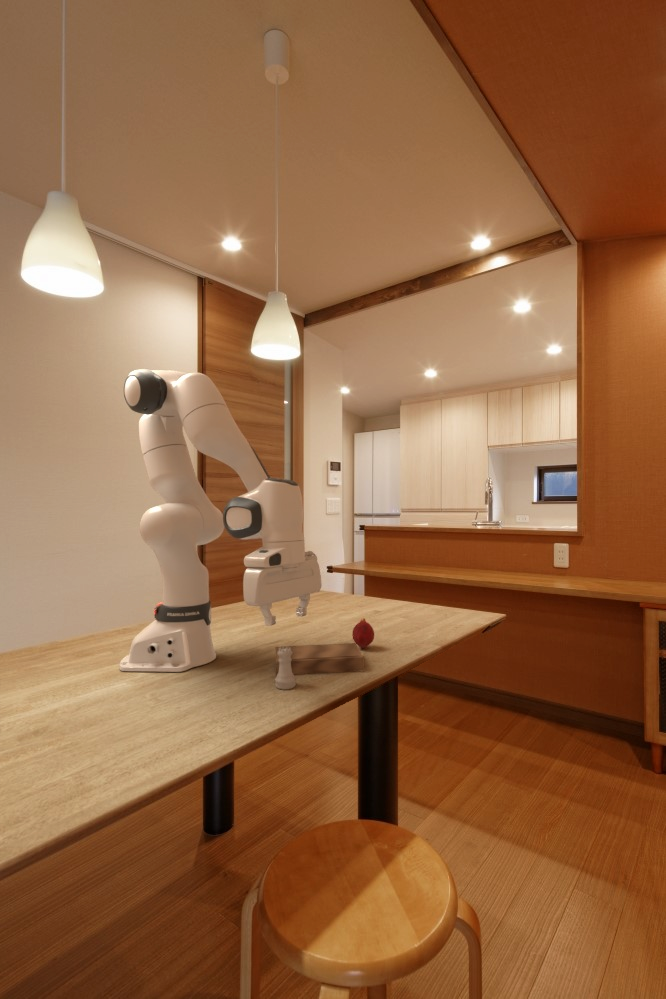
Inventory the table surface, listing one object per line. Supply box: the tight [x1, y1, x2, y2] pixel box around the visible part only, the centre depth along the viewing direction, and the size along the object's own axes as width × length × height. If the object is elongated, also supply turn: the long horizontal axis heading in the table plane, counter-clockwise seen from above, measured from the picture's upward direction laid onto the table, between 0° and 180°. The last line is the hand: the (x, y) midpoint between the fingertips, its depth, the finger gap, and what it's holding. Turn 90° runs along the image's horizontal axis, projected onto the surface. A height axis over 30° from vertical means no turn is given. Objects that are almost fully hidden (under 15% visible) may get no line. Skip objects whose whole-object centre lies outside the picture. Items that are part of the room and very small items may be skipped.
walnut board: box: [275, 642, 365, 676], centre depth 118 cm, size 20×12×3 cm, turn 97°
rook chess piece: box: [274, 646, 297, 691], centre depth 104 cm, size 4×4×8 cm
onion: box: [352, 617, 375, 650], centre depth 130 cm, size 6×6×8 cm
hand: (286, 620), depth 104 cm, fingers open, 8 cm apart
